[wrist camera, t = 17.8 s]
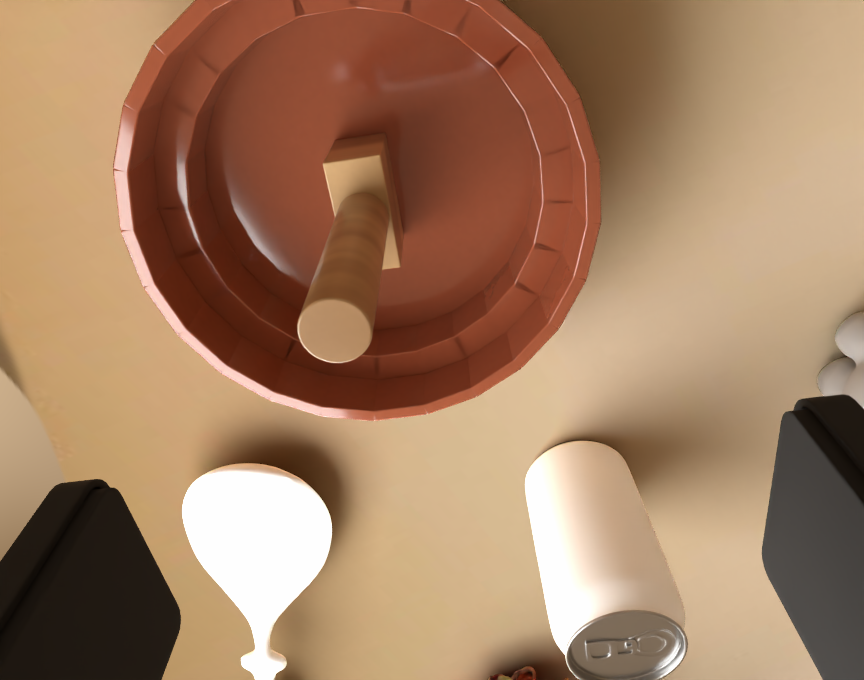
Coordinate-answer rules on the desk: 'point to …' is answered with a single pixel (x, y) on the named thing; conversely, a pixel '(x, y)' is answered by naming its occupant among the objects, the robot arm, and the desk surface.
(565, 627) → the can
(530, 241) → the bowl
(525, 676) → the dragon fruit
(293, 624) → the desk surface
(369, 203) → the wooden stamp
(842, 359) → the chubby cartoon animal
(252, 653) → the spoon
